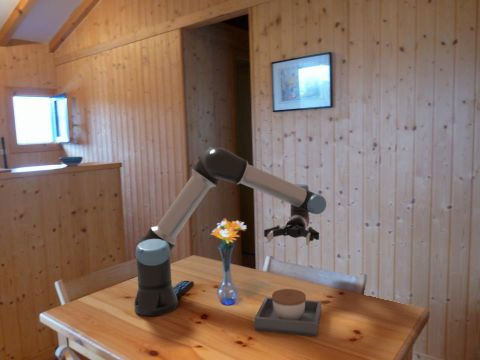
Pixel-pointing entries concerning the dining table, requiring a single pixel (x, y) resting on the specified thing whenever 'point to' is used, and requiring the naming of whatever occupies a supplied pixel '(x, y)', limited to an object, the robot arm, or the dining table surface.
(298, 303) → the lidded jar
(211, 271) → the dining table surface
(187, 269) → the dining table surface
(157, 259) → the robot arm
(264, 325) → the bin
